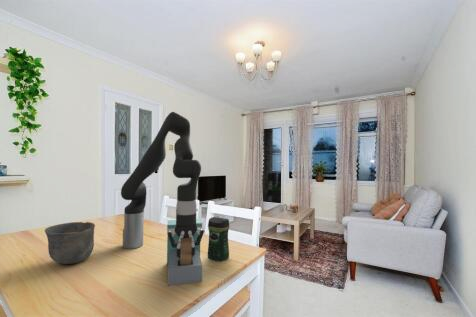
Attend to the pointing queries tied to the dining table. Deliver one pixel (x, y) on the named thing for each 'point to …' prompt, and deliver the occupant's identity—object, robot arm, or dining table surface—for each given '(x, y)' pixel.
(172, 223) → the teal two-tone block
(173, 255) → the socket block
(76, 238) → the cup
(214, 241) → the coffee jar
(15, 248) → the dining table surface
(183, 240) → the walnut peg
